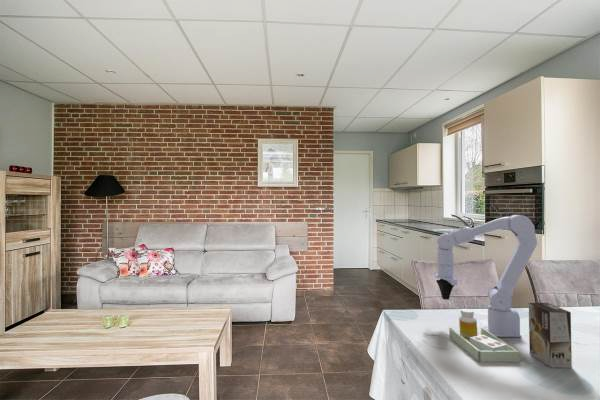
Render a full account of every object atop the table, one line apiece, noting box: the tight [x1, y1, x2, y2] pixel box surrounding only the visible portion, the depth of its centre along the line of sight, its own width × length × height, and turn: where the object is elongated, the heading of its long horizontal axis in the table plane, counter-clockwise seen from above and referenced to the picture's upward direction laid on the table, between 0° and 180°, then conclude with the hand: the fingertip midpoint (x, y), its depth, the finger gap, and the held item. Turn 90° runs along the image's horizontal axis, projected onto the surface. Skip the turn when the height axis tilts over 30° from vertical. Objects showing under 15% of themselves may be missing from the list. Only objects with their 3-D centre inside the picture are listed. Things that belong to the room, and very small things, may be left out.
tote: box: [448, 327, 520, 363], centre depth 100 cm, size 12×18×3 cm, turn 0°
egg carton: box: [469, 334, 507, 351], centre depth 97 cm, size 6×8×5 cm
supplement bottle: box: [458, 308, 478, 342], centre depth 107 cm, size 5×5×10 cm
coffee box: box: [528, 302, 573, 369], centre depth 93 cm, size 9×6×16 cm
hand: (445, 299), depth 120 cm, fingers closed
